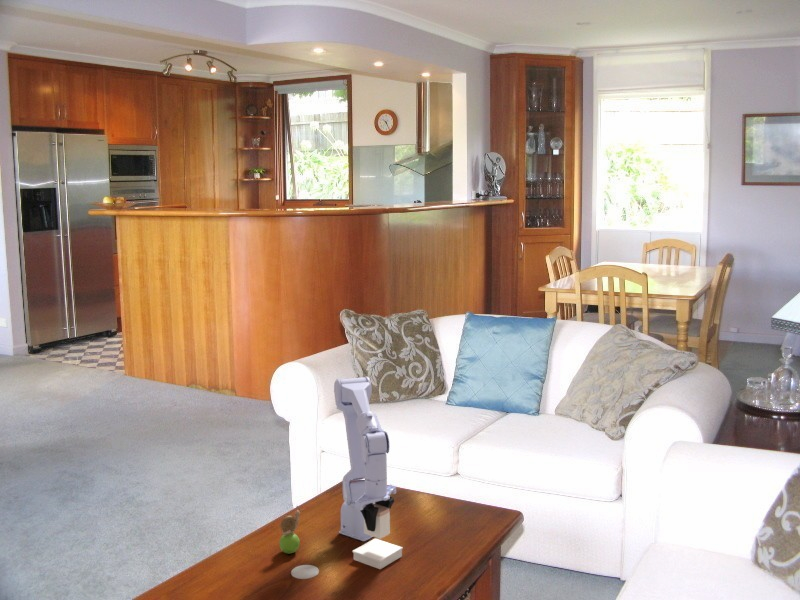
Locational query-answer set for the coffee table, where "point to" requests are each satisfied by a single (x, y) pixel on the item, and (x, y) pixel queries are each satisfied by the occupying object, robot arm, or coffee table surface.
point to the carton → (380, 523)
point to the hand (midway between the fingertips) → (376, 527)
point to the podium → (377, 553)
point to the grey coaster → (304, 571)
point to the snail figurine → (289, 534)
